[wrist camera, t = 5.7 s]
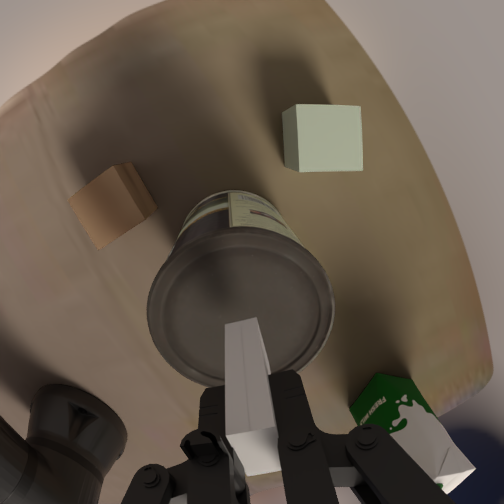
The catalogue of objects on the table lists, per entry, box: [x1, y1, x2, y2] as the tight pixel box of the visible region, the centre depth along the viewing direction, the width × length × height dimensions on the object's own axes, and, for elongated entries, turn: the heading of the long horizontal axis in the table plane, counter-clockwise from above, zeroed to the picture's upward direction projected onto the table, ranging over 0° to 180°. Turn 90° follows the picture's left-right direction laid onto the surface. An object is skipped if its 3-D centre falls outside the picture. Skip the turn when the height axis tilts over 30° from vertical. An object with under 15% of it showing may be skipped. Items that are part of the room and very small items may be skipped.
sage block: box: [282, 104, 363, 172], centre depth 25 cm, size 5×5×6 cm
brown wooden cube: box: [68, 162, 158, 250], centre depth 26 cm, size 5×5×5 cm
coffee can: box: [147, 190, 335, 388], centre depth 23 cm, size 10×10×14 cm
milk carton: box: [349, 373, 475, 494], centre depth 29 cm, size 9×9×20 cm
